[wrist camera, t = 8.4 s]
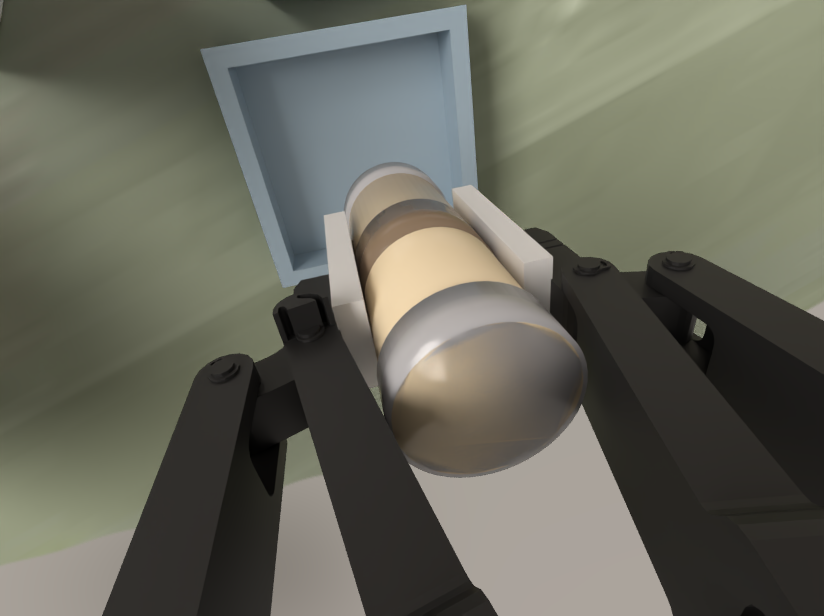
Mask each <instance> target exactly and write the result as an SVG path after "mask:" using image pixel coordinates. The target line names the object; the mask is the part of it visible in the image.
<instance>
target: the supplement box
mask: <svg viewBox="0 0 824 616" xmlns="http://www.w3.org/2000/svg"><path fill="white" fill-rule="evenodd" d="M3 1H4V0H0V20H1V14H2V7H3Z"/></svg>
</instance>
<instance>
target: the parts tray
mask: <svg viewBox="0 0 824 616" xmlns="http://www.w3.org/2000/svg"><path fill="white" fill-rule="evenodd" d="M200 51H201V54H202V57H203V60H204V63H205V65H206V68H207V71H208V74H209V77H210V80H211V83H212V86H213V88H214V91H215V94H216V97H217V100H218V103H219V106H220V109H221V111H222V114H223V117H224V120H225V123H226V126H227V129H228V132H229V134H230V137H231V140H232V143H233V146H234V149H235V152H236V155H237V157H238V160H239V163H240V166H241V169H242V172H243V175H244V177H245V180H246V183H247V186H248V189H249V192H250V195H251V198H252V200H253V203H254V206H255V209H256V212H257V215H258V218H259V221H260V223H261V226H262V229H263V232H264V235H265V238H266V241H267V244H268V246H269V249H270V252H271V255H272V258H273V261H274V264H275V267H276V269H277V272H278V275H279V278H280V281H281V284H282V287H283V288H285V287H289V286H294V285H298V283H299V282H300V281H301V280H304V279H309V278H313V277H318V276H322V275H327V274H329V270H328V258H327V247H326V236H325V224H324V215H328V214H332V213H337V212H342V211H344V204H345V200H346V196H347V194H348V191H349V189H350V188H351V186H352V184H353V183H354V182H355V180H356V179H357V178H358V177H359V176H360V175H361V174H363V173H364V172H365V171H366V170H368V169H370V168H372V167H374V166H376V165H379V164H383V163H388V162H401V163H406V164H410V165H413V166H415V167H417V168H419V169H420V170H422V171H423V172H424V173H426V174H427V175H428V176H429V177H430V179H431V180H432V181H433V182H434V183H435V184H436V185H437V186H438V188H439V189H440V190H441V192H442V193H443V195H444V197H445V199H446V201H447V202H448V203H449V204H450V205H451V206H452V208H453V209H454V207H453V197H452V189H453V188H457V187H462V186H467V185H472V186H473V187H475V188H476V189H477V190H478V182H477V166H476V151H475V135H474V119H473V104H472V88H471V72H470V57H469V41H468V25H467V10H466V5H461V6H455V7H449V8H443V9H437V10H431V11H425V12H419V13H413V14H407V15H401V16H395V17H389V18H383V19H377V20H372V21H366V22H360V23H354V24H348V25H342V26H336V27H330V28H324V29H318V30H312V31H306V32H300V33H294V34H289V35H283V36H277V37H271V38H265V39H259V40H253V41H247V42H241V43H235V44H229V45H223V46H217V47H211V48H205V49H200Z"/></svg>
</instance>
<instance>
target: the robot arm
mask: <svg viewBox="0 0 824 616" xmlns="http://www.w3.org/2000/svg"><path fill="white" fill-rule="evenodd" d="M452 197H453V207H454V209H455V210H456V211H457V212H458V213H459V214H460V215H461V216H462V217H463V218H464V219H465V220H466V221H467V222H468V224H469V225H470V226H471V227H472V228H473V229H474V230H475V232H476V233H477V234H478V235H479V236H480V237H481V238H482V240H483V241H484V242H485V243H486V244H487V245H488V246H489V248H490V249H491V251H492V252H493V254H494V256H495V257H496V258H497V259H498V261H499V262H500V263H501V264H502V265H503V266H504V268H505V269H506V270H507V271H508V272H509V273H510V274H511V276H512V277H513V278H514V279H515V280H516V281H517V283H518V284H519V285H520V286H521V287H522V288H523V289H524V290H525V291H527V292H529V293H531V294H532V295H533V296H534V297H536V298H537V299H538V300H539V301H540V302H541V303H542V304H543V305H544V306H545V308H546V309H547V310H548V311H549V312H550V313H551V314H552V315H553V317H554V318H555V319H556V320H557V321H558V322H559V323H560V324H561V326H562V327H563V328H564V329H565V330H566V331H567V332H568V333H569V335H570V336H571V337H572V338H573V339H574V340H575V341H576V342H577V344H578V345H579V347H580V348H581V350H582V352H583V354H584V357H585V360H586V363H587V369H588V383H587V388H586V393H585V396H584V399H583V402H582V405H583V407H584V410H585V412H586V414H587V416H588V419H589V421H590V423H591V425H592V428H593V430H594V432H595V435H596V437H597V439H598V441H599V444H600V446H601V448H602V451H603V453H604V455H605V457H606V459H607V462H608V464H609V466H610V469H611V471H612V473H613V476H614V478H615V480H616V482H617V484H618V487H619V489H620V491H621V494H622V496H623V498H624V501H625V503H626V505H627V507H628V510H629V512H630V514H631V516H632V519H633V521H634V523H635V525H636V528H637V530H638V532H639V535H640V537H641V539H642V541H643V544H644V546H645V548H646V550H647V553H648V555H649V557H650V559H651V562H652V564H653V566H654V569H655V571H656V573H657V575H658V578H659V580H660V582H661V585H662V587H663V589H664V591H665V594H666V596H667V598H668V601H669V604H670V606H671V610H672V614H673V616H824V321H823V320H821V319H819V318H817V317H815V316H813V315H811V314H810V313H808V312H806V311H804V310H802V309H800V308H798V307H796V306H794V305H792V304H790V303H788V302H786V301H784V300H782V299H781V298H779V297H777V296H775V295H773V294H771V293H769V292H767V291H765V290H763V289H761V288H759V287H757V286H755V285H753V284H752V283H750V282H748V281H746V280H744V279H742V278H740V277H738V276H736V275H734V274H732V273H730V272H728V271H726V270H724V269H723V268H721V267H719V266H717V265H715V264H713V263H711V262H709V261H707V260H705V259H703V258H701V257H699V256H696V255H693V254H689V253H684V252H682V251H676V252H675V251H668V252H663V253H658V254H656V255H653V256H652V257H651V258H650V259H649V260H648V265H647V271H639V272H619V270H618V269H617V268H616V267H615V266H614V265H613V264H612V263H610V262H609V261H606V260H603V259H600V258H593V257H579V256H578V255H577V254H576V253H574V252H573V251H572V250H571V249H569V248H568V247H567V246H565V245H563V243H562V242H560V241H559V240H557V238H555V237H554V236H553V235H552V234H550V233H549V232H547V231H544V230H541V229H538V228H530V229H526V230H522V229H521V228H520V227H519V226H518V225H517V224H515V223H514V222H513V221H512V220H511V219H510V218H509V217H508V216H506V215H505V214H504V213H503V212H502V211H501V210H500V209H498V208H497V207H496V206H495V205H494V204H493V203H492V202H490V201H489V200H488V199H487V198H486V197H485V196H484V195H483V194H481V193H480V192H479V191H478V190H477V189H476V188H475V187H473V186H472V185H467V186H462V187H457V188H453V189H452ZM324 224H325V236H326V247H327V258H328V270H329V274H327V275H322V276H318V277H313V278H309V279H304V280H301V281H300V282H299V283H298V285H297V286H296V287H295V289H294V294H293V295H291V296H289V297H286V298H285V299H283V300H282V301H280V302H279V303H278V304H277V305H276V306H275V307H274V309H273V317H274V320H275V322H276V325H277V328H278V330H279V333H280V336H281V338H282V341H283V344H284V347H283V348H282V349H281V350H279V351H278V352H277V353H275V354H273V355H271V356H269V357H267V358H265V359H263V360H261V361H258V362H256V363H254V362H253V359H252V358H250V357H249V356H248V355H245V354H240V353H239V354H229V355H226V356H223V357H219V358H217V359H215V360H213V361H211V362H210V363H208V364H207V365H206V366H205V367H203V368H202V369H201V370H200V371H199V372H198V374H197V375H196V377H195V379H194V381H193V384H192V386H191V389H190V391H189V394H188V397H187V399H186V402H185V404H184V407H183V409H182V412H181V415H180V417H179V420H178V422H177V425H176V427H175V430H174V432H173V435H172V438H171V440H170V443H169V445H168V448H167V450H166V453H165V456H164V458H163V461H162V463H161V466H160V468H159V471H158V474H157V476H156V479H155V481H154V484H153V486H152V489H151V492H150V494H149V497H148V499H147V502H146V504H145V507H144V509H143V512H142V515H141V517H140V520H139V522H138V525H137V527H136V530H135V533H134V535H133V538H132V541H131V543H130V546H129V548H128V551H127V553H126V556H125V558H124V561H123V564H122V566H121V569H120V571H119V574H118V576H117V579H116V581H115V584H114V587H113V589H112V592H111V594H110V597H109V600H108V602H107V605H106V607H105V610H104V612H103V615H102V616H270V614H271V603H272V593H273V583H274V572H275V562H276V553H277V541H278V532H279V522H280V512H281V502H282V492H283V481H284V471H285V461H286V451H287V438H289V437H291V436H293V435H295V434H297V433H298V432H300V431H302V430H304V429H306V428H308V427H309V429H310V433H311V436H312V439H313V443H314V446H315V449H316V453H317V456H318V459H319V462H320V466H321V469H322V472H323V476H324V479H325V482H326V485H327V489H328V492H329V495H330V499H331V502H332V505H333V509H334V512H335V515H336V518H337V522H338V525H339V528H340V531H341V535H342V538H343V541H344V544H345V548H346V551H347V554H348V558H349V561H350V565H351V568H352V571H353V574H354V578H355V581H356V584H357V587H358V591H359V594H360V597H361V601H362V604H363V607H364V611H365V614H366V616H498V615H497V613H496V612H495V610H494V608H493V606H492V605H491V603H490V601H489V600H488V598H487V597H486V596H485V594H484V593H483V592H482V590H481V589H479V588H477V587H475V586H474V585H473V584H472V582H471V581H470V580H469V578H468V576H467V574H466V573H465V571H464V569H463V567H462V565H461V563H460V561H459V559H458V557H457V555H456V553H455V551H454V550H453V548H452V546H451V544H450V542H449V540H448V538H447V536H446V534H445V533H444V530H443V529H442V527H441V525H440V523H439V521H438V519H437V517H436V515H435V513H434V511H433V510H432V507H431V506H430V504H429V502H428V500H427V498H426V496H425V494H424V492H423V491H422V488H421V487H420V485H419V483H418V481H417V479H416V477H415V475H414V473H413V471H412V469H411V467H410V466H409V464H408V462H407V460H406V458H405V456H404V454H403V452H402V450H401V448H400V446H399V444H398V443H397V441H396V439H395V437H394V435H393V433H392V431H391V429H390V427H389V425H388V423H387V422H386V420H385V418H384V416H383V414H382V412H381V410H380V408H379V406H378V404H377V402H376V400H375V399H374V397H373V395H372V393H371V391H370V389H369V388H373V387H377V386H378V381H377V363H378V361H377V357H376V352H375V347H374V342H373V338H372V333H371V329H370V324H369V319H368V315H367V310H366V306H365V301H364V297H363V293H362V288H361V283H360V279H359V274H358V270H357V265H356V260H355V255H354V250H353V245H352V241H351V237H350V233H349V228H348V224H347V220H346V216H345V211H342V212H337V213H332V214H328V215H324ZM697 318H698V319H700V320H701V321H703V322H704V323H705V324H707V326H706V330H705V334H704V336H703V338H701V337H699V336H697V335H696V334H695V333H693V331H694V327H695V323H696V319H697Z"/></svg>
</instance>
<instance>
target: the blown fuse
mask: <svg viewBox="0 0 824 616" xmlns="http://www.w3.org/2000/svg"><path fill="white" fill-rule="evenodd" d="M344 211H345V216H346V220H347V224H348V228H349V233H350V237H351V241H352V245H353V250H354V255H355V260H356V265H357V270H358V274H359V279H360V283H361V288H362V293H363V297H364V301H365V306H366V310H367V315H368V319H369V324H370V329H371V333H372V338H373V342H374V347H375V352H376V357H377V361H378V363H377V381H378V387H379V392H380V397H381V402H382V407H383V412H384V417H385V420H386V422H387V423H388V425H389V427H390V429H391V431H392V433H393V435H394V437H395V439H396V441H397V443H398V444H399V446H400V448H401V450H402V452H403V454H404V456H405V458H406V460H407V462H408V463H409V464H411V465H413V466H415V467H416V468H418V469H420V470H423V471H425V472H428V473H431V474H434V475H439V476H446V477H458V478H462V477H475V476H482V475H486V474H491V473H495V472H498V471H502V470H505V469H508V468H510V467H512V466H515V465H517V464H519V463H521V462H523V461H525V460H527V459H529V458H531V457H532V456H534V455H535V454H537V453H539V452H540V451H541V450H543V449H544V448H546V447H547V446H548V445H549V444H551V443H552V442H553V441H554V440H555V439H556V438H557V437H558V436H559V435H560V434H561V433H562V432H563V431H564V430H565V429H566V428H567V426H568V425H569V424H570V423H571V421H572V420H573V418H574V417H575V415H576V413H577V412H578V410H579V408H580V406H581V404H582V402H583V399H584V396H585V393H586V388H587V383H588V369H587V363H586V360H585V357H584V354H583V352H582V350H581V348H580V347H579V345H578V344H577V342H576V341H575V340H574V339H573V338H572V337H571V336H570V335H569V333H568V332H567V331H566V330H565V329H564V328H563V327H562V326H561V324H560V323H559V322H558V321H557V320H556V319H555V318H554V317H553V315H552V314H551V313H550V312H549V311H548V310H547V309H546V308H545V306H544V305H543V304H542V303H541V302H540V301H539V300H538V299H537V298H536V297H534V296H533V295H532V294H531V293H529V292H527V291H525V290H524V289H523V288H522V287H521V286H520V285H519V284H518V283H517V281H516V280H515V279H514V278H513V277H512V276H511V274H510V273H509V272H508V271H507V270H506V269H505V268H504V266H503V265H502V264H501V263H500V262H499V261H498V259H497V258H496V257H495V256H494V254H493V252H492V251H491V249H490V248H489V246H488V245H487V244H486V243H485V242H484V241H483V240H482V238H481V237H480V236H479V235H478V234H477V233H476V232H475V230H474V229H473V228H472V227H471V226H470V225H469V224H468V222H467V221H466V220H465V219H464V218H463V217H462V216H461V215H460V214H459V213H458V212H457V211H456V210H455V209H453V208H452V206H451V205H450V204H449V203H448V202H447V201H446V199H445V197H444V195H443V193H442V192H441V190H440V189H439V188H438V186H437V185H436V184H435V183H434V182H433V181H432V180H431V179H430V177H429V176H428V175H427V174H426V173H424V172H423V171H422V170H420V169H419V168H417V167H415V166H413V165H410V164H406V163H401V162H388V163H383V164H379V165H376V166H374V167H372V168H370V169H368V170H366V171H365V172H364V173H363V174H361V175H360V176H359V177H358V178H357V179H356V180H355V182H354V183H353V184H352V186H351V188H350V189H349V191H348V194H347V196H346V200H345V204H344Z"/></svg>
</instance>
